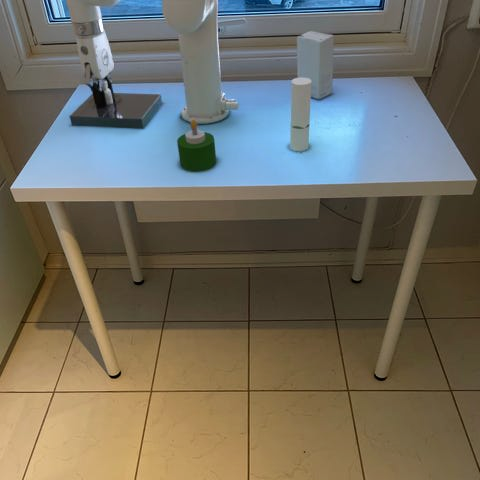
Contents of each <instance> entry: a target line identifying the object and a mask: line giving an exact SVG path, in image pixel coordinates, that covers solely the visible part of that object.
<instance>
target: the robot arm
mask: <svg viewBox="0 0 480 480" xmlns="http://www.w3.org/2000/svg"><path fill="white" fill-rule="evenodd" d="M121 1H122V0H65V2H66V6H67V10H68V14H69V18H70V23H71V26H72V27H71V28H72V31H73V35H74V37H75V39H76V46H77V52H78V58H79V64H80V67H81V71H82V75H83V77H84V78H85V86H87V87H89V89H90V92H91V94H93V97H94V102H95V105H97V106H106V105H107V102H106V97H105V93H104V90H102V84H101V80H102V79H103V80H106V81H107V84H108V87H107V88H109V89H110V90H111V94H112V98H113V97H114V93H115V92H114V89H113V83H112V76H111V73H112V71H113V70H114V68H115V63H114V58H113V54H112V50H111V46H110V43H109V39H108V36H107V34H106V31H105V26H104V21H103V16H102V10H101V8H112V7H115V6H116V5H117V4H119V3H120V2H121ZM218 2H219V1H218V0H161V11H162V15H163V18H164V20H165V22H166V24H167V25H168V27H169V28H170V29H171V30H173V31H174V32H176V33H178V34H177V35H178V37H177V38H178V47H179V56H180V64H181V71H182V80H183V81H182V82H183V88H184V97H185V106H184V107H183V108H182V109H181V112H180V114H181V118H182V119H183V120H184V121H186V122H187V123H191V121H192V120H195V121H196V122H197V125H198V124H201V125H202V124H212V123H216V122H220V121H223V120H224V119H225V118H227V116H228V115H229V114H230V111H239V107H240V106H239V105H240V104H239V102H237V100H236V99H233V98H232V99H228V98H227V97H226V93H225V92H223V90H222V78H221V75H222V74H221V64H220V63H221V62H220V48H219V33H218V31H219V30H218V29H219V28H218V19H219V18H218V17H219V16H218V14H219V13H218V12H219V10H218V8H219V3H218ZM95 81H97V83H98V85H97V84H96V83H94V82H95Z"/></svg>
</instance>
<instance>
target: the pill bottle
mask: <svg viewBox="0 0 480 480" xmlns="http://www.w3.org/2000/svg"><path fill="white" fill-rule="evenodd" d="M93 82H94V83H96V84H97V85H98V83H97V81H93ZM101 84H102V90H104V93H105V97H106V102H107V105H109V104H111V103H113V99H112V94H111V90H110V89H109V88H107V87H108V84H107V81H106V80H103V79H102V80H101Z"/></svg>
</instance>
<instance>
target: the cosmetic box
mask: <svg viewBox="0 0 480 480" xmlns="http://www.w3.org/2000/svg"><path fill="white" fill-rule="evenodd" d="M334 41H335V35H334V34H329V33H323V32H318V31H313V30H310V31H307V32H305V33H302V34H300V35H298V36H297V37H296V71H297V72H296V73H297V76H296V78H300V77H304V78H309V79H311V98H313V99H316V100H321V99H324V98H325V97H327V96H330V95H332V94H333V81H334V80H333V78H334V75H333V74H334V45H335V43H334Z"/></svg>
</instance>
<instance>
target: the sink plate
mask: <svg viewBox="0 0 480 480" xmlns="http://www.w3.org/2000/svg"><path fill="white" fill-rule="evenodd" d="M113 93H114V97H113V98H112V99H113V103H111V104H109V105H106V106H97V105H95V102H94V97H93V93H91V94H90V95H89V97H87V98H86V99H85V100H84V101H83V102H82V103H81V104H80V105H79V106H78V107H77V108H76V109H75V110H74V111H73V112H72V113H71V114H70V115H69V120H70V123H71V126H77V127H78V126H79V127H80V126H81V127H101V128H124V129H144V128H145V127H146V126H147V124H148V123H149V122H150V121H151V119H152V118H153V116H154V115H155V114H156V113H157V111H158V110H159V108H160V107H161V106H162V104H163V99H162V94H159V93H158V94H157V93H130V92H129V93H127V92H126V93H125V92H113Z"/></svg>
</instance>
